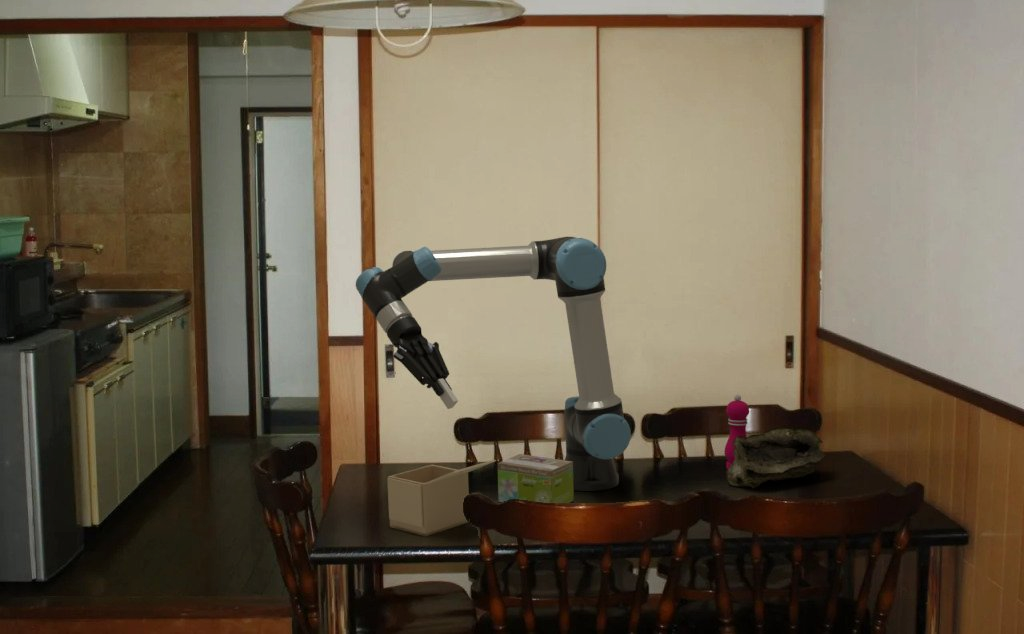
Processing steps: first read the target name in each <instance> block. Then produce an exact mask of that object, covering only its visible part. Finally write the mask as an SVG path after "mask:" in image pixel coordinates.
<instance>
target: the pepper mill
mask: <svg viewBox="0 0 1024 634" xmlns="http://www.w3.org/2000/svg"><path fill="white" fill-rule="evenodd" d="M725 409H726V414H727V416H728V423H727V424H728V425H729V436H728V439H727V442H726V444H725V446H724V451H723V452H724V457H725V458H726V459H727V461H726V465H725V466H726V469H727V470H728V469H729V468H730V466H731V465H732V463H733V462H734V460H735V455H734V453H733V451H734V448H735V446H732V443H733V442H734V439H735V438H736V437H738V436H742V437H748V436H747V433H746V432H747V431H746V428H747V424H748V418H747V417H748V416H749V414H750V407H749V404H748V403H746V402H745V401H743V400H742V397H741V395H740V394H736V395H734V400H732V401H730V402H729V403H728V404H727V406H726V408H725Z"/></svg>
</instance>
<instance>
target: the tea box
mask: <svg viewBox="0 0 1024 634" xmlns="http://www.w3.org/2000/svg"><path fill="white" fill-rule="evenodd" d="M574 491H575V490H573V461H565V459H559V458H558V459H557V458H551V457H544V456H537V455H530V454H522V453H519V454H517V455H515V456H512V457H510V458H508V459H506V460H502V461H500V462H497V496H498V504H499V503H502V502H505V501H507V500H509V499H519V500H528V501H535V502H543V503H574V504H575V502H574V500H575V499H574V496H575V493H574Z"/></svg>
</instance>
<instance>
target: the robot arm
mask: <svg viewBox="0 0 1024 634" xmlns="http://www.w3.org/2000/svg"><path fill="white" fill-rule="evenodd" d="M606 271H607V259H606V256H605V254H604V252H603V250H602V249H601V248H600V247H599V246H598V245H597V244H596V243H595V242H593V241H591V240H589V239H587V238H584V237H583V238H582V237H574V236H564V237H557V238H552V239H544V240H532V241H531V242H529V244H528V245H518V246H517V245H515V246H514V245H513V246H500V247H499V246H495V247H479V248H478V247H477V248H476V247H475V248H459V249H458V248H456V249H439V250H438V249H435V250H430V248H429V247H427V246H423V247H421V248H419V249H417V250H415V251H412V250H404V251H401V252H399V253H398V254H396V256H394V258H393V260H392V265H391V267H389V268H387V269H385V270H383V269H381V267H377V266H373V267H371V268H367V269H365V270H364V271H362V272H361V274H359V275H358V277H357V278H356V280H355V288H356V290H357V292H358V293H359V295H360V297H361V299H362V300H363V302H364V304H365V305H366V307H367V308H368V309H369V311H370V312H371V313H372V315H373V317H374V318H375V320H376V321H377V322H378V324H379V325H380V327H381V328H382V330H383V332H384V333H385V334H386V336H387V338H388V339H389V341H390V343H392V345H393V347H395V348H396V349H397V350H395V352H394V354H393V358H394V359H395V360H397V361H398V362H399V363H401V364H402V366H404V367H405V369H406V370H407V371H408V372H409V373H410V374H411V375H412V376H413V377H414V378H415V379H416V380H417V381H418V382H419V384H421V385H422V386H426V388H427V389H432V390H433V392H434V393H435V394H436V396H437V397H439V398H440V400H441V401H442V403H443V404H444V405H445V407H446V409H448V410H450V409H453V408H454V407H455V406H456V404H458V402H459V400H458V398H457V397H456V395H455V393H454V392H453V389H452V387H451V385H450V384H449V383H448V381H447V379H448V376H449V375H450V372H449V369H448V367H447V365H446V362H445V360H444V358H443V356H442V354H441V350H440V345H439V343H438V342H437V341H434V342H433V343H432V342H429V341H428V339H427V338H426V337H425V336H424V335H423V333H422V327H421V326H420V324H419V323H418V321H417V320H416V318H415V317H414V316H413V314H412V312H411V310H410V309H409V308H408V306H407V305H406V304H405V302H404V300H403V299H402V298H404V297H406V296H407V295H410V293H412V292H414V291H415V290H417V289H418V288H420V287H422V286H423V285H425V284H427V283H428V282H437V281H439V282H440V281H456V280H457V281H458V280H459V281H460V280H475V279H478V280H479V279H495V278H498V279H499V278H515V277H516V278H517V277H530V278H532V279H533V280H550V281H554V282H555V287H556V292H557V298H558V299H559V300H561V301H562V302H563V303H564V305H565V312H566V317H567V323H568V330H569V338H570V344H571V350H572V356H573V357H572V358H573V364H574V370H575V378H576V383H577V390H578V396H572V397H568V398H567V399H566V400H565V402H564V422H565V424H564V425H565V427H564V428H565V457H564V460H565V461H573V490H574V491H577V492H597V491H606V490H610V489H613V488H616V487H617V486H618V485H619V484H620V483H619V482H620V480H619V477H620V476H619V473H618V471H617V469H616V464H615V463H614V462H615V460H614V459H615V458H617V457H619V456H620V455H622V454H623V453H624V452H625V451H626V449H627V448H628V447H629V445H630V441H631V438H632V432H631V431H632V430H631V427H630V425H629V423H628V421H627V420H626V419H625V417H624V416H625V415H624V410H623V402H622V398H620V397H619V396H618V395H617V394H615V391H614V383H613V377H612V376H613V375H612V371H611V370H612V369H611V364H610V356H609V355H610V354H609V351H608V350H609V349H608V344H607V337H606V327H605V321H604V314H603V308H602V307H603V306H602V301H601V297H602V296H603V294H604V293H605V292H606V285H605V278H604V277H605V275H606Z"/></svg>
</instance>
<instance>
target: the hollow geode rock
mask: <svg viewBox="0 0 1024 634" xmlns="http://www.w3.org/2000/svg"><path fill="white" fill-rule="evenodd" d="M823 443H824V442H823V440H822V439H821V438H820V437H819V436H818V435H817V434H816V433H815V432H814V431H812V430H810V429H809V430H808V429H804V428H796V429H795V428H790V427H788V426H786V427H785V426H784V427H783V426H782V427H775V428H774V427H773V428H771V429H769V430H766V431H764V433H763V432H762V433H759V434H751V435H748V436H747V437H742V436H738V437H736V438H735V439H734V442H733V443H732V446H735V448H734V451H733V453H734V455H735V460H734V462H733V463H732V465H731V466H730V468H729V469H727V470H726V471H725V472H726V473H725V474H726V478H727V482H728V483H729V484H730V485H732V486H733V487H734V486H735V487H742V488H745V487H748V488H752V489H755V488H757V487H759V486H760V485H761V484H762V483H765V482H767V481H769V480H770V481H774V482H775V481H776V482H777V481H781V480H782V481H784V480H788V479H796V478H803V477H806V476H807V475H809V474H812V473H814V472H816V470H817V468H818V466H819V464H820V461H821V460H822V459H823V458H825V455H826V452H823V450H822V449H821V447H820V446H822V444H823Z"/></svg>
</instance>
